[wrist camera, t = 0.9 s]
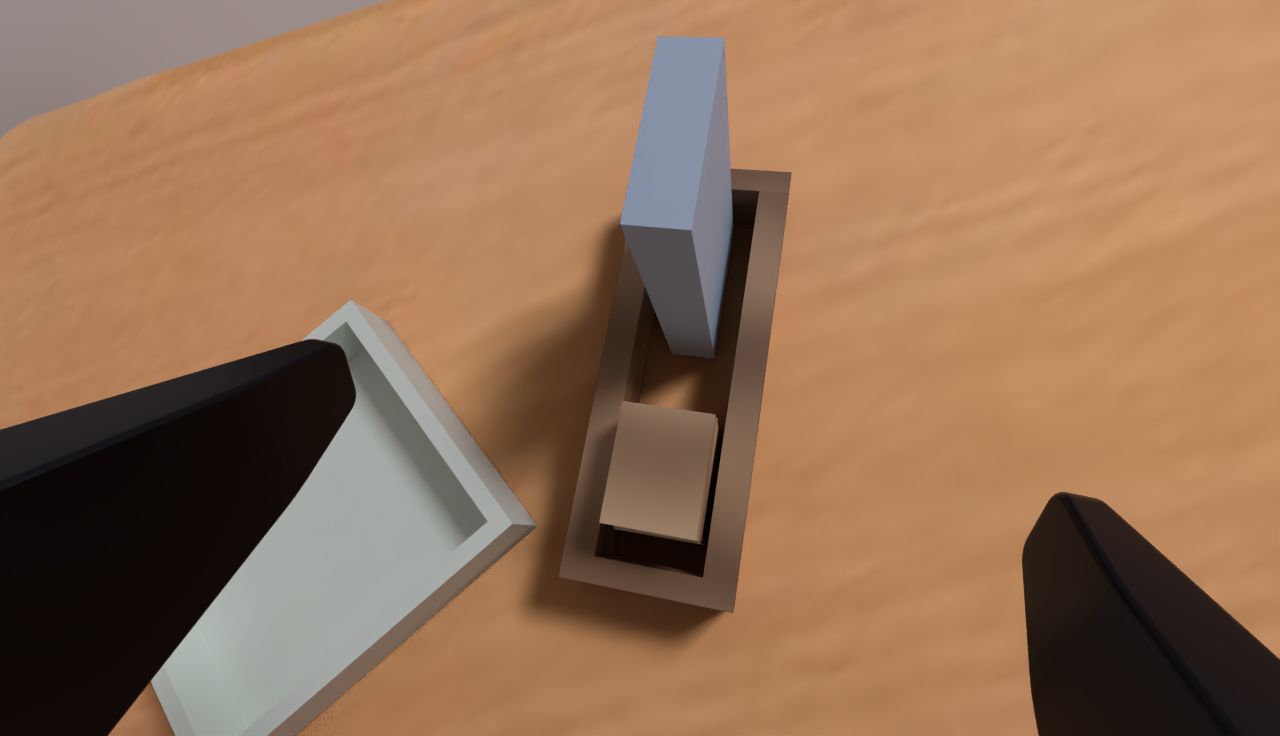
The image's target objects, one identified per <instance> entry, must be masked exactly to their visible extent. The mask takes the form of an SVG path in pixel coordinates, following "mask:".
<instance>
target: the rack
mask: <svg viewBox="0 0 1280 736" xmlns="http://www.w3.org/2000/svg"><path fill="white" fill-rule="evenodd" d="M730 170H731V191H732V213H733V224H745V225H754V231H753V238H752V245H751V252H750V259H749V266H748V272H747V279H746V286H745V293H744V300H743V307H742V314H741V321H740V327H739V334H738V341H737V348H736V355H735V362H734V369H733V376H732V382H731V389H730V396H729V403H728V410H727V417H726V424H725V431H724V437H723V444H722V451H721V458H720V465H719V472H718V479H717V486H716V492H715V499H714V506H713V513H712V520H711V527H710V534H709V541H708V547H707V554H706V561H705V568H704V573H701V572H696V571H691V570H686V569H681V568H676V567H671V566H666V565H660V564H655V563H650V562H645V561H640V560H635V559H630V558H625V557H620V556H614V555H611V552H612V547H613V541H614V536H615V530H616V529H613V528H614V525H609V524H603V523H599V521H600V516H601V510H602V505H603V500H604V495H605V489H606V484H607V479H608V474H609V468H610V463H611V458H612V453H613V447H614V442H615V437H616V432H617V426H618V421H619V416H620V410H621V405H622V401H626V402H633V403H639V397H640V392H641V386H642V381H643V375H644V370H645V364H646V358H647V353H648V347H649V342H650V336H651V331H652V325H653V320H654V314H655V310H654V308H653V305H652V303H651V300H650V298H649V295H648V293H647V290H646V288H645V285H644V283H643V280H642V278H641V275H640V273H639V270H638V268H637V265H636V263H635V260H634V258H633V255H632V253H631V250H630V248H629V245H628V243H627V241H626V239H625V244H624V249H623V254H622V259H621V264H620V269H619V274H618V279H617V284H616V289H615V294H614V299H613V304H612V309H611V314H610V319H609V325H608V330H607V335H606V340H605V345H604V350H603V355H602V360H601V365H600V370H599V375H598V380H597V385H596V390H595V395H594V400H593V405H592V410H591V415H590V420H589V425H588V430H587V435H586V440H585V445H584V450H583V456H582V461H581V466H580V471H579V476H578V481H577V486H576V491H575V496H574V501H573V506H572V511H571V516H570V521H569V526H568V531H567V536H566V541H565V546H564V551H563V556H562V561H561V566H560V571H559V576H558V577H561V578H566V579H571V580H576V581H581V582H586V583H590V584H595V585H600V586H605V587H610V588H615V589H619V590H624V591H629V592H634V593H639V594H644V595H649V596H653V597H658V598H663V599H668V600H673V601H678V602H682V603H687V604H692V605H697V606H702V607H707V608H711V609H716V610H721V611H726V612H731V613H733V610H734V605H735V598H736V590H737V583H738V575H739V568H740V560H741V552H742V545H743V537H744V530H745V522H746V515H747V507H748V500H749V492H750V485H751V477H752V470H753V462H754V454H755V447H756V439H757V432H758V424H759V417H760V409H761V402H762V394H763V387H764V379H765V371H766V364H767V356H768V349H769V341H770V334H771V326H772V319H773V311H774V304H775V296H776V289H777V281H778V273H779V266H780V258H781V251H782V243H783V236H784V228H785V221H786V213H787V205H788V197H789V188H790V180H791V172H775V171H759V170H743V169H730Z"/></svg>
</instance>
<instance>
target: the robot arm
mask: <svg viewBox="0 0 1280 736" xmlns="http://www.w3.org/2000/svg"><path fill="white" fill-rule="evenodd" d="M355 401H356V388H355V385H354V381H353V378H352V375H351V371H350V368H349V364H348V361H347V357H346V354H345V352H344V350H343V349H342V347H341V346H340V345H338V344H336V343H333V342H328V341H323V340H318V339H307V340H303V341H300V342H297V343H293V344H290V345H286V346H283V347H280V348H276V349H273V350H270V351H266V352H263V353H259V354H256V355H253V356H249V357H246V358H242V359H239V360H236V361H232V362H229V363H225V364H222V365H219V366H215V367H212V368H208V369H205V370H202V371H198V372H195V373H191V374H188V375H185V376H181V377H178V378H174V379H171V380H168V381H164V382H161V383H157V384H154V385H151V386H147V387H144V388H140V389H137V390H134V391H130V392H127V393H123V394H120V395H117V396H113V397H110V398H106V399H103V400H100V401H96V402H93V403H89V404H86V405H83V406H79V407H76V408H72V409H69V410H66V411H62V412H59V413H55V414H52V415H49V416H45V417H42V418H38V419H35V420H32V421H28V422H25V423H22V424H18V425H15V426H11V427H8V428H5V429H1V430H0V736H108V735H109V734H110V732H111V731H112V730H113V728H114V727H115V726H116V725H117V723H118V722H119V721H120V720H121V718H122V717H123V716H124V714H125V713H126V712H127V711H128V709H129V708H130V707H131V706H132V704H133V703H134V702H135V701H136V699H137V698H138V697H139V695H140V694H141V693H142V692H143V690H144V689H145V688H146V687H147V685H148V684H149V683H150V681H151V680H152V679H153V678H154V676H155V675H156V674H157V673H158V671H159V670H160V669H161V667H162V666H163V665H164V664H165V662H166V661H167V660H168V659H169V657H170V656H171V655H172V653H173V652H174V651H175V650H176V648H177V647H178V646H179V645H180V643H181V642H182V641H183V640H184V638H185V637H186V636H187V634H188V633H189V632H190V631H191V629H192V628H193V627H194V626H195V624H196V623H197V622H198V620H199V619H200V618H201V617H202V615H203V614H204V613H205V612H206V610H207V609H208V608H209V606H210V605H211V604H212V603H213V601H214V600H215V599H216V598H217V596H218V595H219V594H220V592H221V591H222V590H223V589H224V587H225V586H226V585H227V584H228V582H229V581H230V580H231V579H232V577H233V576H234V575H235V573H236V572H237V571H238V570H239V568H240V567H241V566H242V565H243V563H244V562H245V561H246V559H247V558H248V557H249V556H250V554H251V553H252V552H253V551H254V549H255V548H256V547H257V545H258V544H259V543H260V542H261V540H262V539H263V538H264V537H265V535H266V534H267V533H268V531H269V530H270V529H271V528H272V526H273V525H274V524H275V523H276V521H277V520H278V519H279V518H280V516H281V515H282V514H283V512H284V511H285V510H286V509H287V507H288V506H289V505H290V503H291V502H292V501H293V499H294V498H295V497H296V495H297V494H298V492H299V491H300V489H301V488H302V486H303V485H304V483H305V482H306V480H307V479H308V477H309V476H310V474H311V473H312V471H313V470H314V468H315V466H316V465H317V463H318V462H319V460H320V459H321V457H322V456H323V454H324V452H325V451H326V449H327V448H328V446H329V445H330V443H331V441H332V440H333V438H334V437H335V435H336V434H337V432H338V431H339V429H340V427H341V426H342V424H343V423H344V421H345V420H346V418H347V417H348V415H349V413H350V412H351V410H352V409H353V407H354V404H355ZM1022 569H1023V584H1024V599H1025V614H1026V629H1027V645H1028V660H1029V674H1030V684H1031V694H1032V700H1033V706H1034V713H1035V719H1036V724H1037V729H1038V734H1039V736H1280V659H1279V658H1278V657H1277V656H1276V655H1274V654H1273V653H1272V652H1271V651H1270V650H1269V649H1268V648H1267V647H1266V646H1264V645H1263V644H1262V643H1261V642H1260V641H1259V640H1258V639H1257V638H1256V637H1254V636H1253V635H1252V634H1251V633H1250V632H1249V631H1248V630H1247V629H1245V628H1244V627H1243V626H1242V625H1241V624H1240V623H1239V622H1238V621H1237V620H1235V619H1234V618H1233V617H1232V616H1231V615H1230V614H1229V613H1228V612H1227V611H1225V610H1224V609H1223V608H1222V607H1221V606H1220V605H1219V604H1218V603H1217V602H1215V601H1214V600H1213V599H1212V598H1211V597H1210V596H1209V595H1208V594H1206V593H1205V592H1204V591H1203V590H1202V589H1201V588H1200V587H1199V586H1198V585H1196V584H1195V583H1194V582H1193V581H1192V580H1191V579H1190V578H1189V577H1188V576H1186V575H1185V574H1184V573H1183V572H1182V571H1181V570H1180V569H1179V568H1177V567H1176V566H1175V565H1174V564H1173V563H1172V562H1171V561H1170V560H1169V559H1167V558H1166V557H1165V556H1164V555H1163V554H1162V553H1161V552H1160V551H1159V550H1157V549H1156V548H1155V547H1154V546H1153V545H1152V544H1151V543H1150V542H1149V541H1147V540H1146V539H1145V538H1144V537H1143V536H1142V535H1141V534H1140V533H1138V532H1137V531H1136V530H1135V529H1134V528H1133V527H1132V526H1131V525H1130V524H1128V523H1127V522H1126V521H1125V520H1124V519H1123V518H1122V517H1121V516H1120V515H1118V514H1117V513H1116V512H1115V511H1114V510H1113V509H1112V508H1111V507H1109V506H1108V505H1107V504H1106V503H1105V502H1103V501H1101V500H1099V499H1096V498H1092V497H1087V496H1082V495H1077V494H1072V493H1067V492H1060V493H1056V494H1055V495H1053V496H1052V497H1051V499H1050V500H1049V501H1048V503H1047V505H1046V506H1045V508H1044V510H1043V512H1042V513H1041V515H1040V517H1039V518H1038V520H1037V522H1036V524H1035V525H1034V527H1033V529H1032V531H1031V532H1030V534H1029V536H1028V538H1027V540H1026V542H1025V545H1024V548H1023V554H1022Z"/></svg>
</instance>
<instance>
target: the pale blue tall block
mask: <svg viewBox="0 0 1280 736" xmlns="http://www.w3.org/2000/svg"><path fill="white" fill-rule="evenodd" d="M620 226H621V228H622V231H623V233H624V236H625V238H626V241H627V243H628V245H629V248H630V250H631V253H632V255H633V258H634V260H635V263H636V265H637V268H638V270H639V273H640V275H641V278H642V280H643V283H644V285H645V288H646V290H647V293H648V295H649V298H650V300H651V303H652V305H653V308H654V310H655V313H656V315H657V318H658V320H659V323H660V325H661V327H662V330H663V332H664V335H665V337H666V340H667V342H668V345H669V347H670V350H671V352H672V354H678V355H686V356H694V357H702V358H710V359H715V354H716V348H717V341H718V334H719V328H720V321H721V315H722V308H723V302H724V295H725V289H726V282H727V276H728V269H729V263H730V256H731V250H732V243H733V237H734V234H733V213H732V191H731V170H730V148H729V126H728V105H727V83H726V62H725V40H724V38H706V37H658V38H657V43H656V48H655V53H654V58H653V63H652V68H651V73H650V78H649V83H648V88H647V93H646V98H645V103H644V108H643V113H642V118H641V123H640V128H639V132H638V137H637V142H636V147H635V152H634V157H633V162H632V167H631V172H630V177H629V182H628V187H627V192H626V197H625V202H624V207H623V212H622V217H621V222H620Z"/></svg>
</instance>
